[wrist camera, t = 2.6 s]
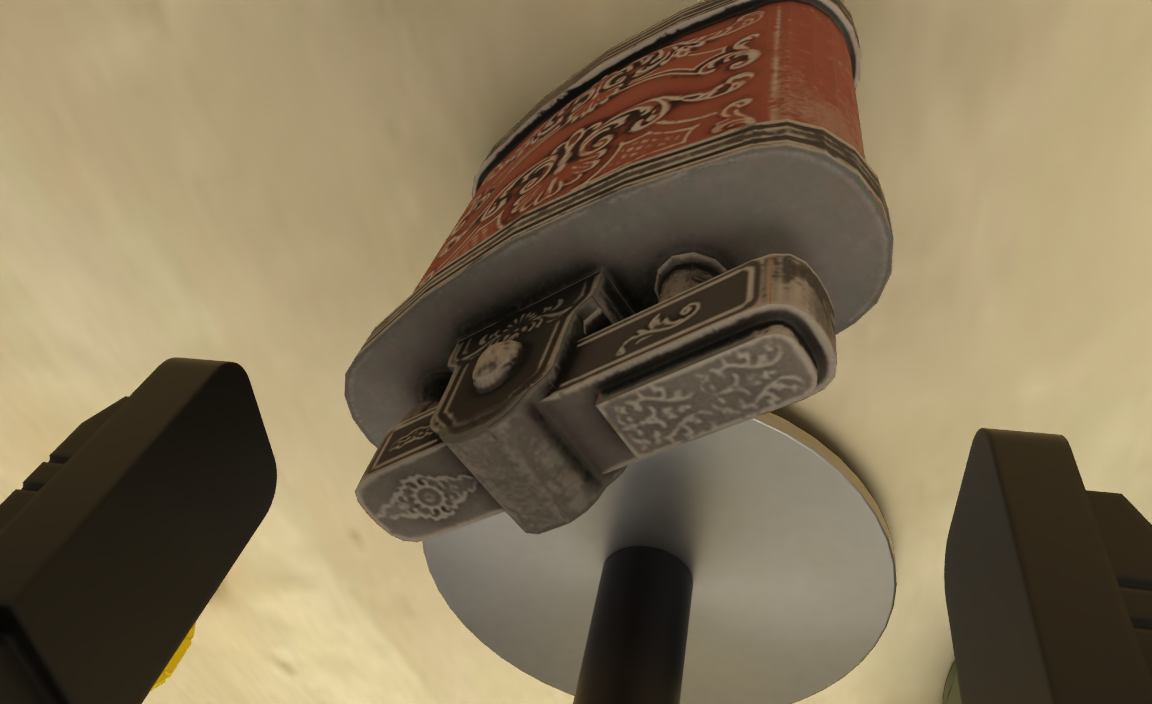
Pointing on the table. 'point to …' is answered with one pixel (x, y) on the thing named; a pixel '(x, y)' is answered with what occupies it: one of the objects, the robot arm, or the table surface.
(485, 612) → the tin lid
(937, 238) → the table surface
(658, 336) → the lighter
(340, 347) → the table surface
